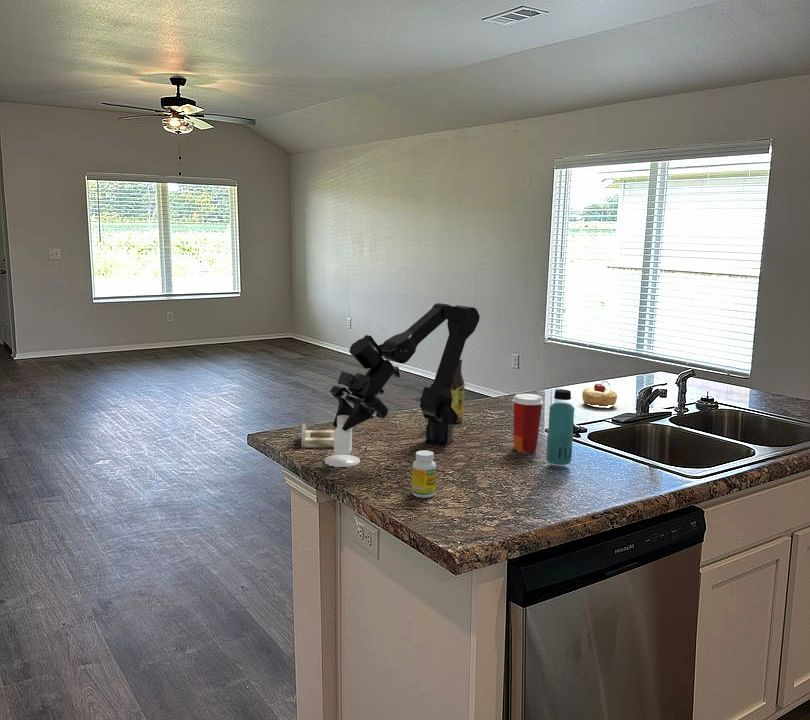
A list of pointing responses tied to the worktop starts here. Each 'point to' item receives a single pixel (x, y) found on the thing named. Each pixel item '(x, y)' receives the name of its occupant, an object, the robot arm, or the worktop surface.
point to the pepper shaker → (342, 437)
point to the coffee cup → (526, 421)
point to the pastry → (599, 395)
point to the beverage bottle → (560, 429)
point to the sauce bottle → (458, 393)
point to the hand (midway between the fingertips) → (338, 428)
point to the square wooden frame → (316, 437)
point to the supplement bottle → (424, 474)
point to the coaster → (342, 460)
